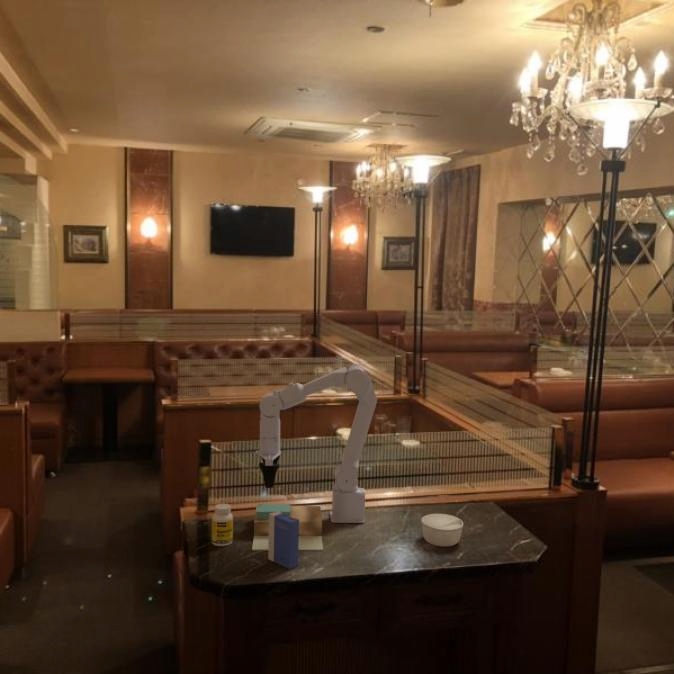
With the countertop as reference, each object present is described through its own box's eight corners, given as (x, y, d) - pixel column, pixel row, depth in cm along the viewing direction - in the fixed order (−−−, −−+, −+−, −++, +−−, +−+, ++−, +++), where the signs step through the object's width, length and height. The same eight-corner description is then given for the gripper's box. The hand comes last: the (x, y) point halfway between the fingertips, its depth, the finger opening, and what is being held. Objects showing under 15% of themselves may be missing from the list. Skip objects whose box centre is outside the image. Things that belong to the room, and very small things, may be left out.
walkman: (298, 565, 166) (299, 518, 165) (289, 569, 164) (290, 521, 163) (276, 555, 172) (277, 509, 170) (268, 559, 169) (268, 512, 168)
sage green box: (290, 510, 191) (290, 503, 191) (290, 519, 185) (290, 511, 185) (257, 510, 191) (257, 503, 190) (256, 518, 185) (256, 511, 184)
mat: (321, 537, 184) (321, 536, 184) (322, 550, 175) (322, 549, 175) (253, 536, 183) (254, 535, 183) (251, 550, 174) (251, 549, 174)
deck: (320, 519, 196) (320, 505, 196) (321, 536, 184) (322, 521, 184) (256, 519, 195) (256, 505, 195) (254, 536, 183) (254, 521, 183)
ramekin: (459, 551, 177) (460, 531, 177) (416, 545, 180) (417, 525, 180) (464, 535, 188) (465, 516, 187) (424, 529, 191) (425, 511, 190)
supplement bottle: (215, 548, 175) (215, 511, 174) (208, 540, 180) (209, 504, 179) (235, 544, 178) (236, 508, 176) (228, 536, 182) (229, 501, 181)
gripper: (257, 429, 201) (257, 475, 202) (254, 443, 186) (254, 491, 188) (281, 429, 201) (281, 475, 203) (280, 443, 187) (280, 491, 188)
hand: (269, 483), depth 195 cm, fingers open, 7 cm apart
